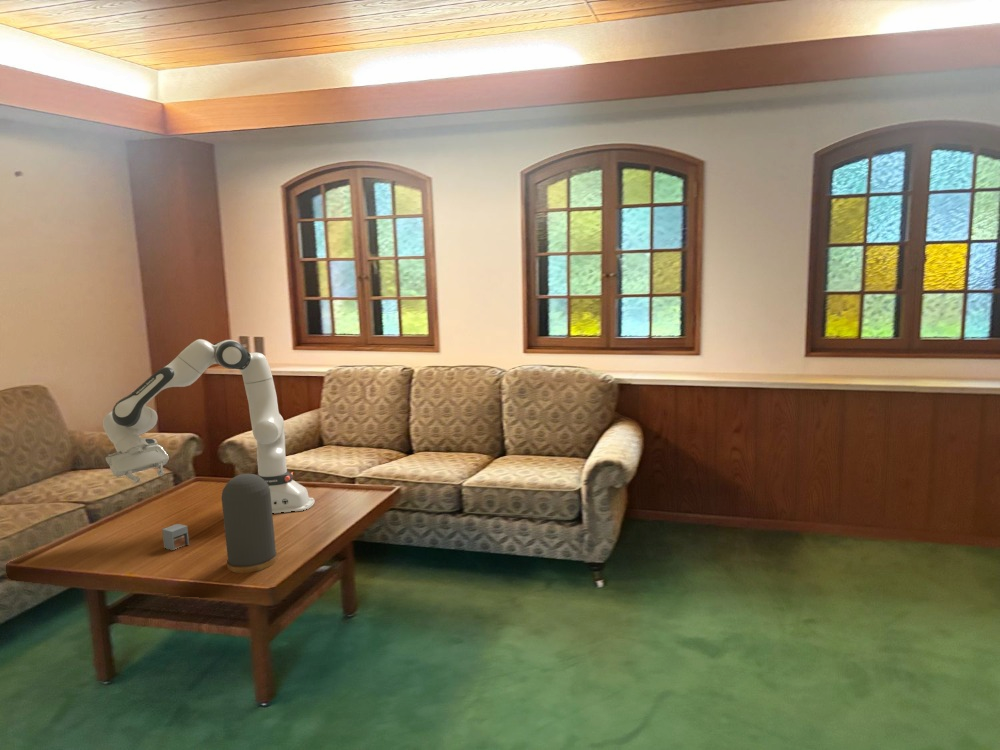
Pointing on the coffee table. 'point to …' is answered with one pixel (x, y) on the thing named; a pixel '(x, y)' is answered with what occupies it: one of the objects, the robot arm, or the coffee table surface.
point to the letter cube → (179, 541)
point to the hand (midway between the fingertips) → (150, 478)
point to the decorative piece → (248, 524)
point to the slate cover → (174, 535)
